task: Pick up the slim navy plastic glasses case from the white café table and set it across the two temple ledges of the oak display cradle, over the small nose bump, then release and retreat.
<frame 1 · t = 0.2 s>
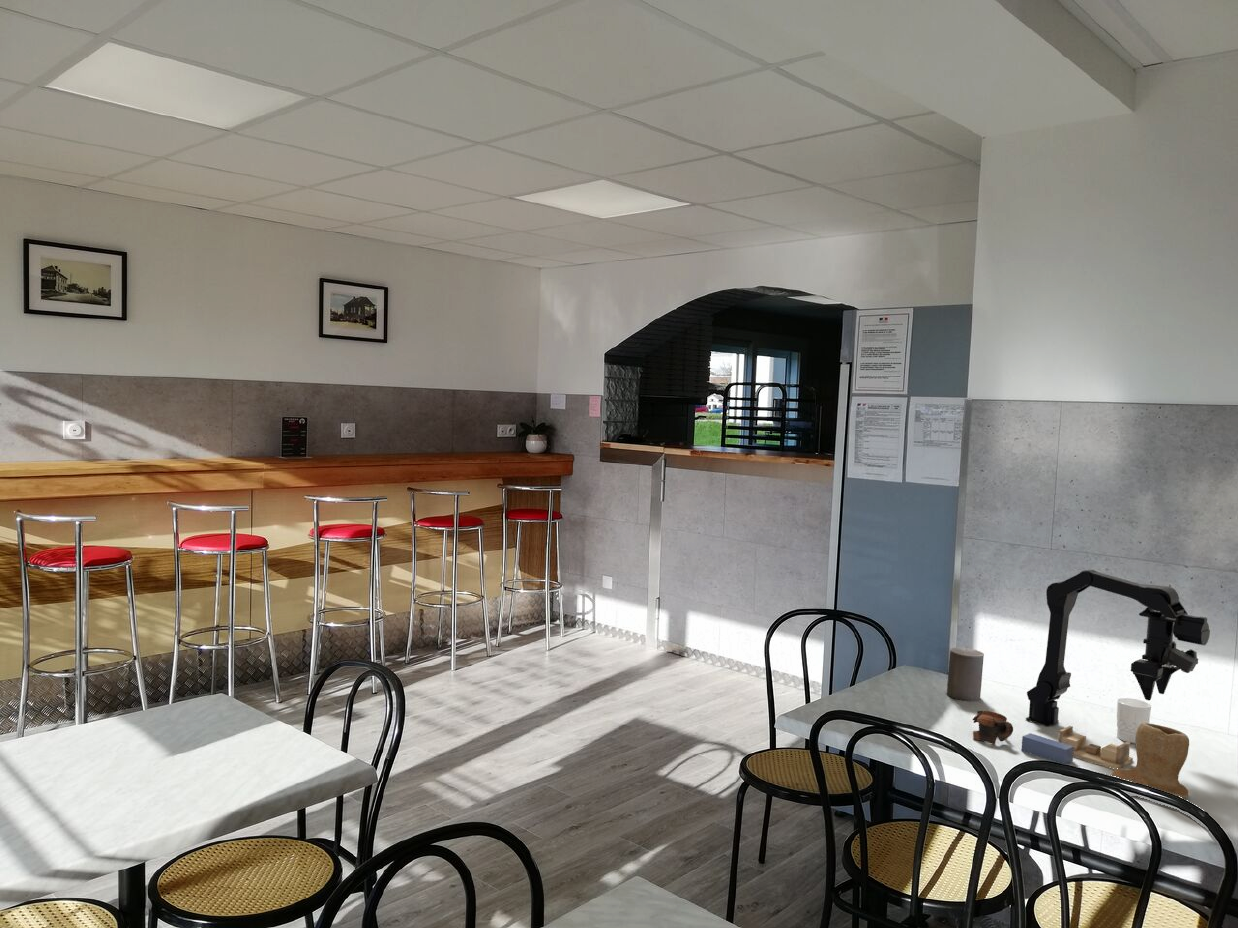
hand: (1154, 696, 235), 15 cm above the table, fingers open, 9 cm apart
pottery mug: (992, 740, 241), on the table
white cup: (1131, 740, 245), on the table
pillar candle: (963, 696, 278), on the table
glasses case: (1046, 756, 230), on the table
display cradle: (1092, 755, 232), on the table
stone cup: (1149, 790, 212), on the table
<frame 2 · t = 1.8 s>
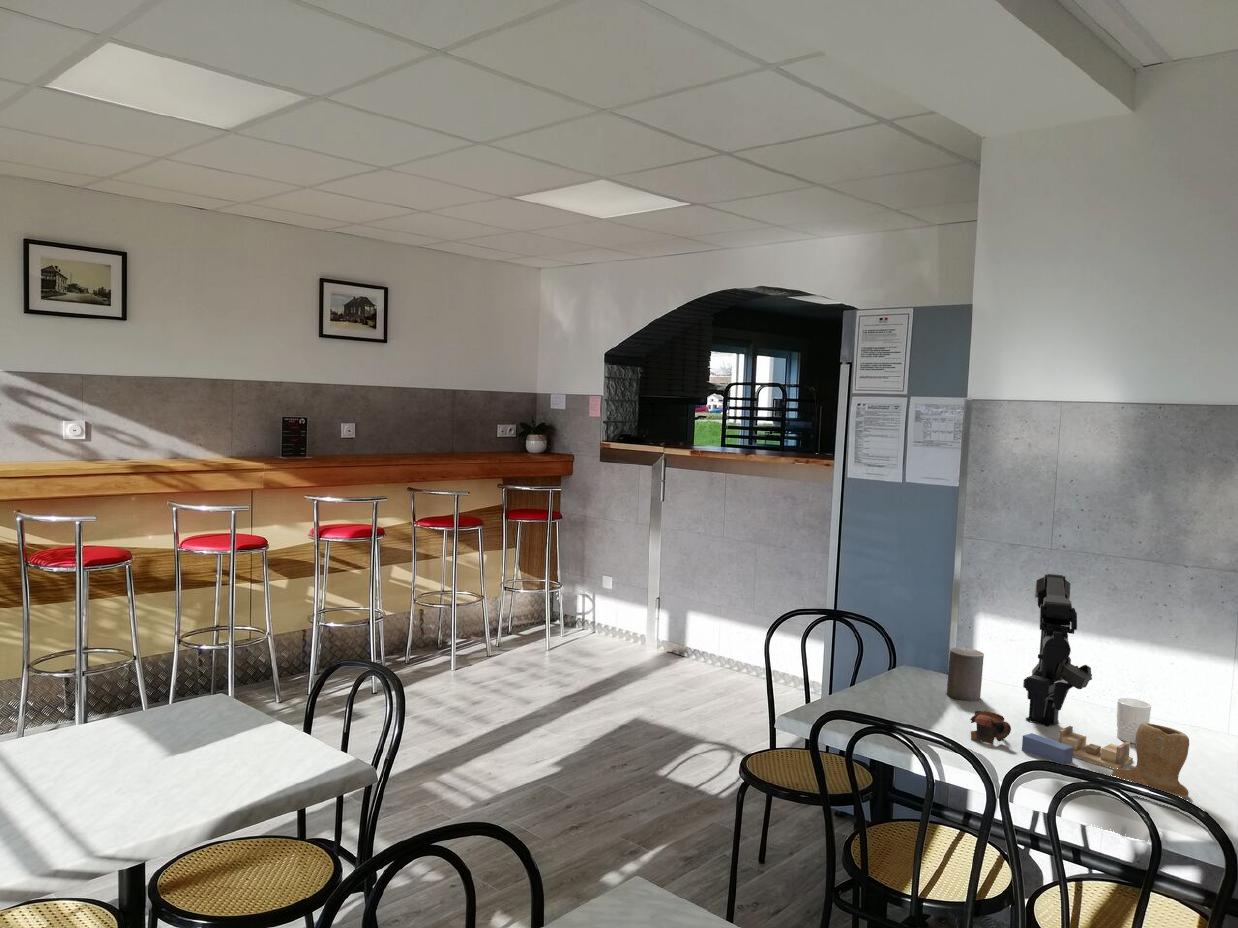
hand: (1049, 713, 230), 11 cm above the table, fingers open, 9 cm apart
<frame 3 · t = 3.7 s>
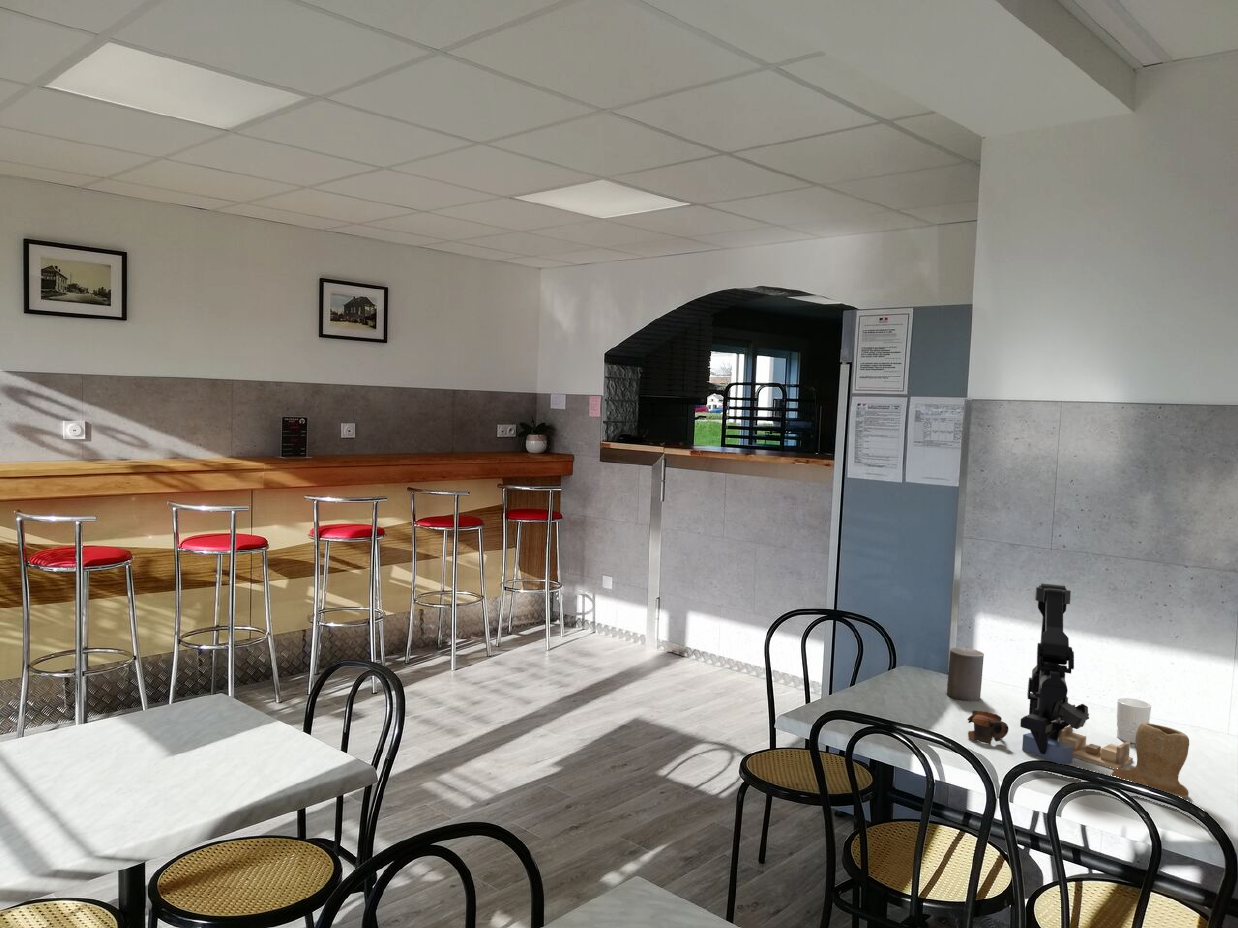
hand: (1047, 751, 230), 1 cm above the table, fingers closed on glasses case, 4 cm apart
glasses case: (1046, 755, 230), on the table, touching gripper
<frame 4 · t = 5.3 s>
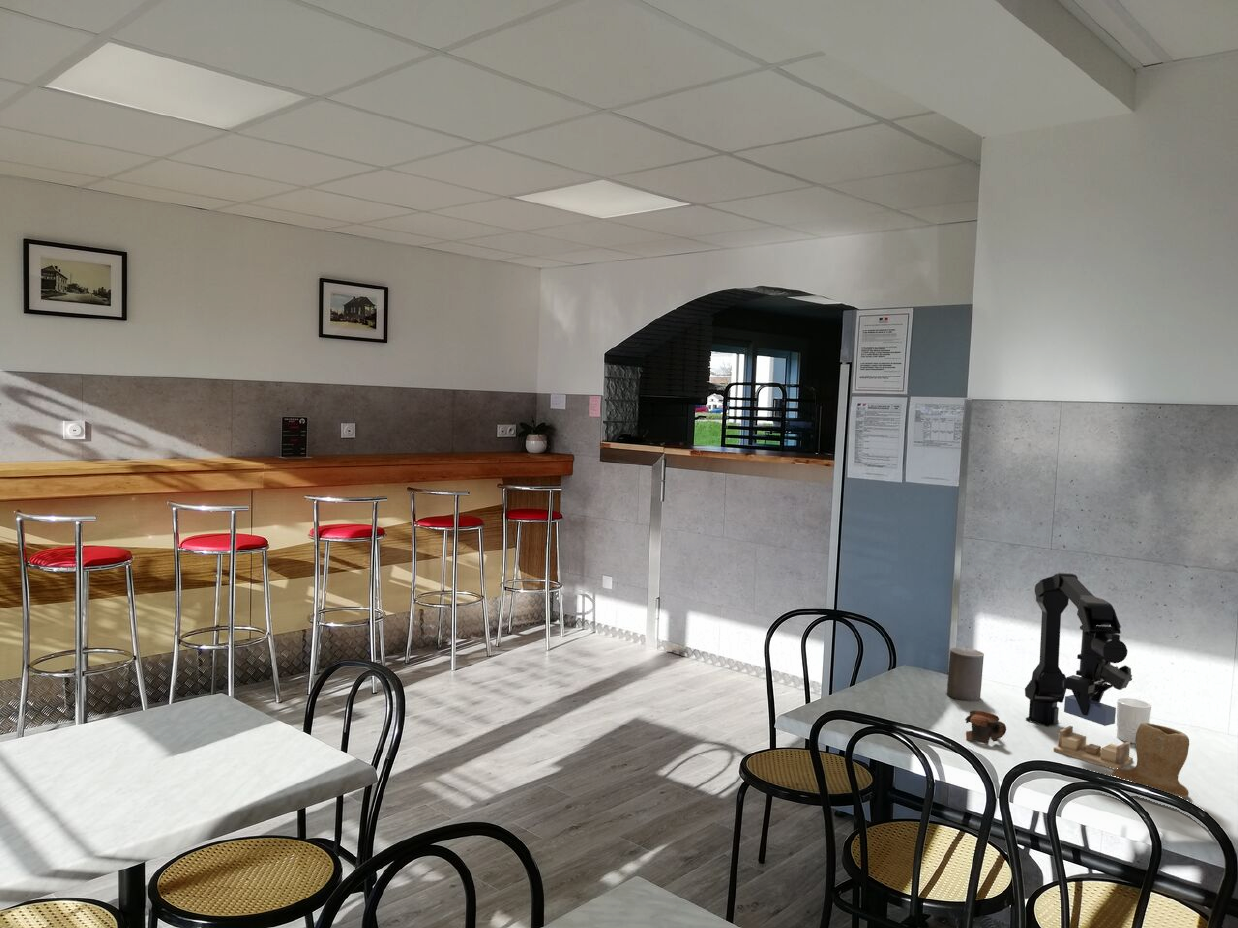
hand: (1089, 713, 231), 11 cm above the table, fingers closed on glasses case, 4 cm apart
glasses case: (1088, 717, 231), point 10 cm above the table, touching gripper
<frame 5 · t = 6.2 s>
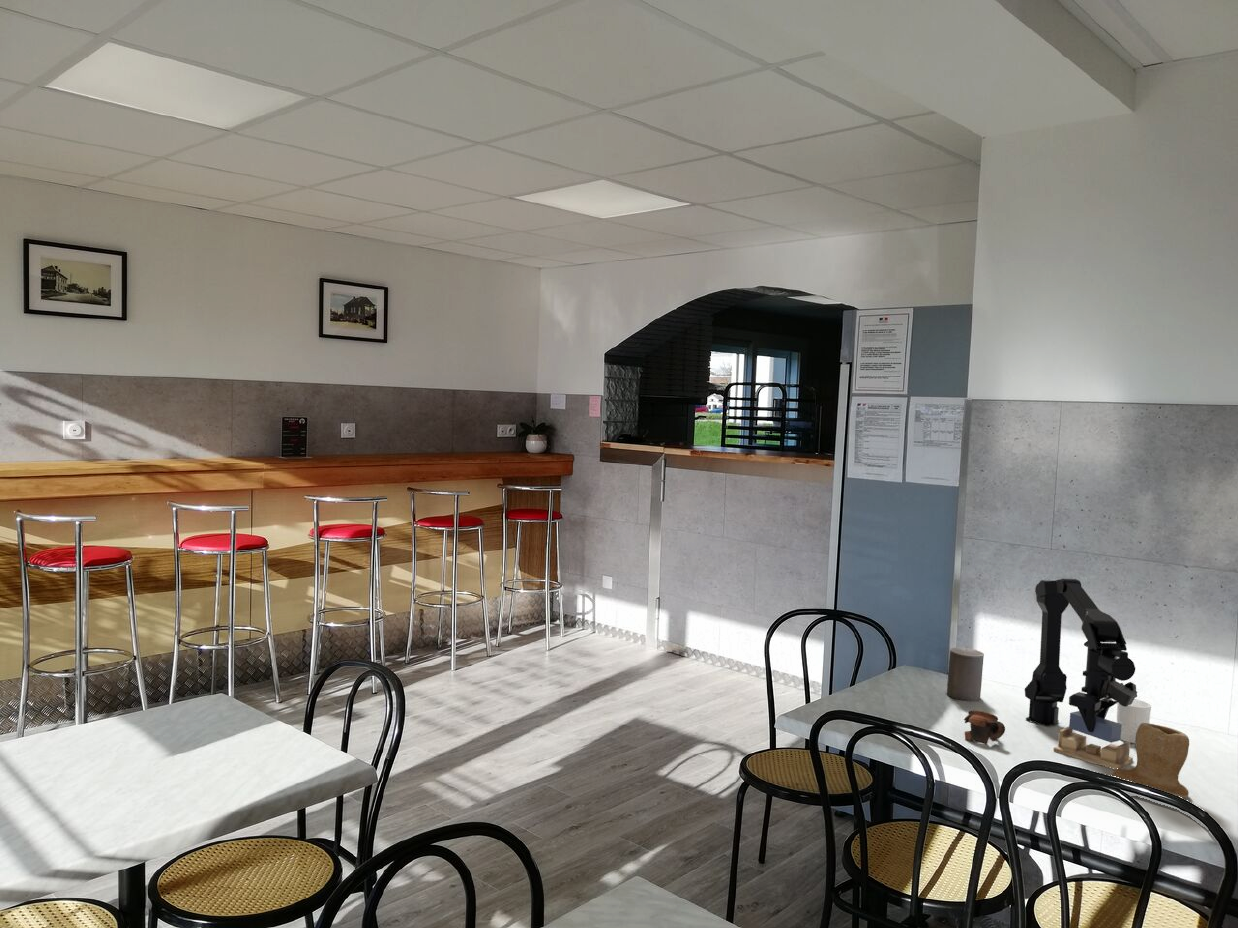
hand: (1094, 729, 231), 7 cm above the table, fingers closed on glasses case, 4 cm apart
glasses case: (1094, 734, 231), point 6 cm above the table, touching gripper
when the fingers open (6 cm above the table, at t = 7.0 s): glasses case drops 1 cm, resting on display cradle.
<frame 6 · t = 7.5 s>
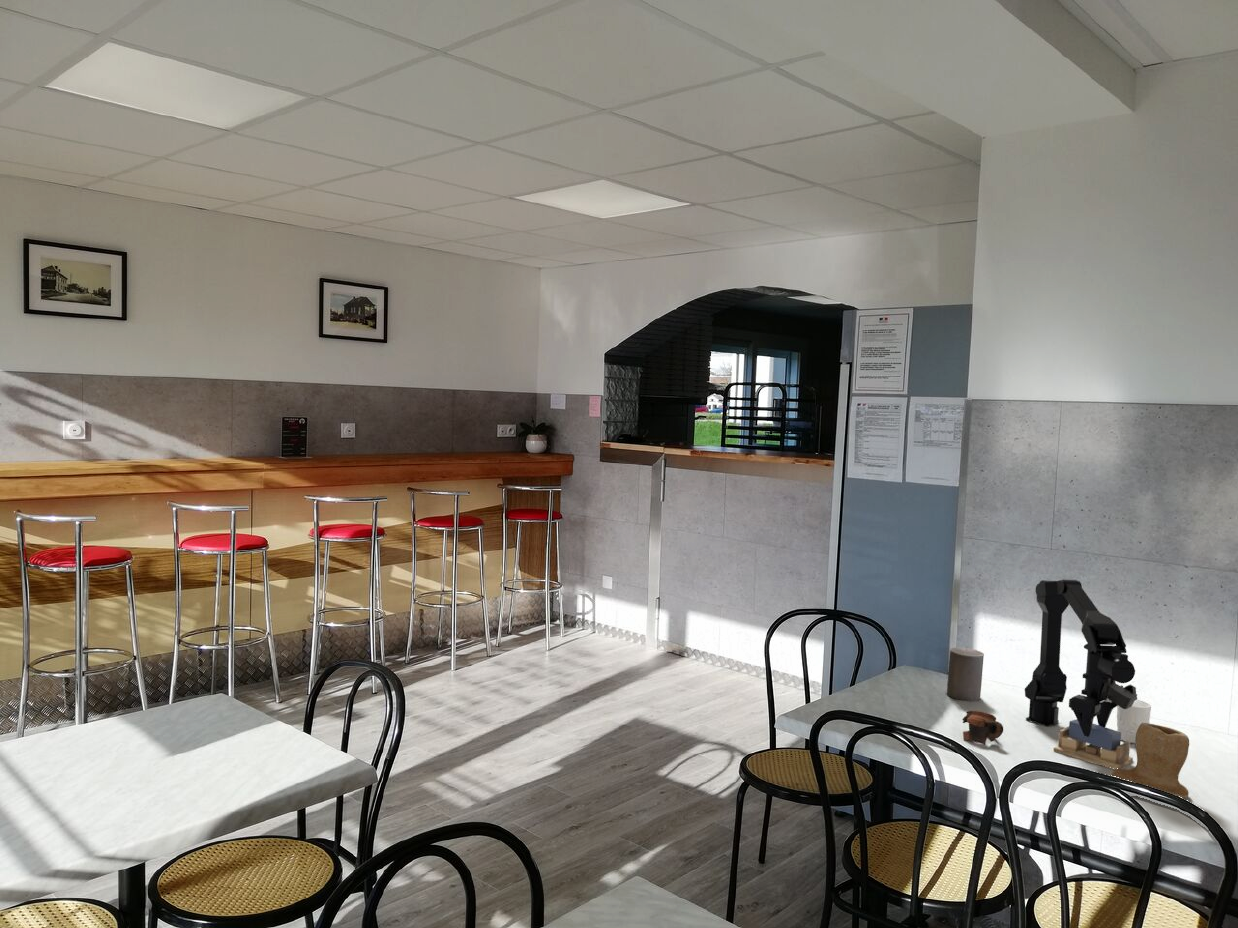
hand: (1094, 732, 231), 6 cm above the table, fingers open, 9 cm apart
glasses case: (1093, 742, 231), point 3 cm above the table, touching display cradle
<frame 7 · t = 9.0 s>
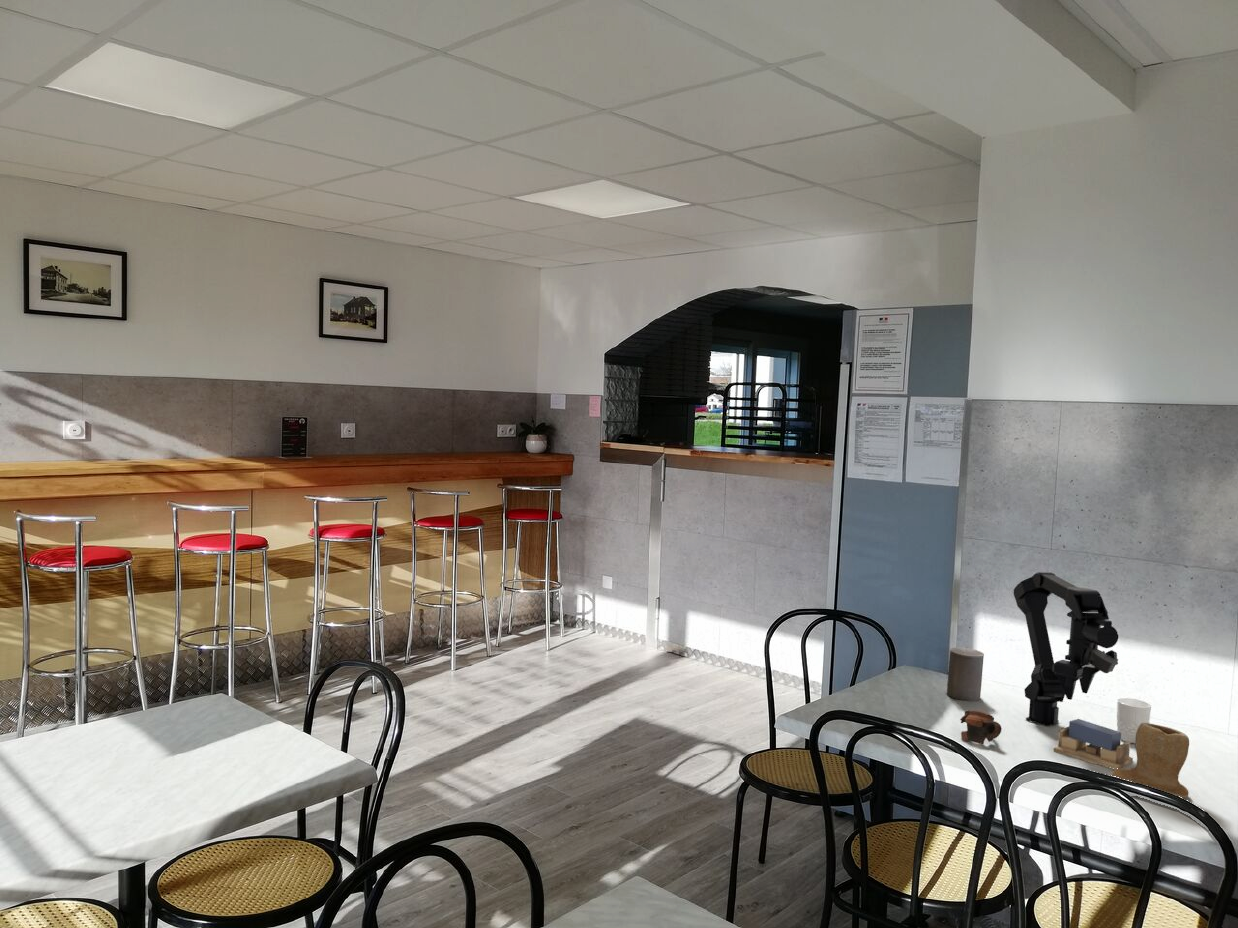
hand: (1077, 695, 242), 12 cm above the table, fingers open, 9 cm apart
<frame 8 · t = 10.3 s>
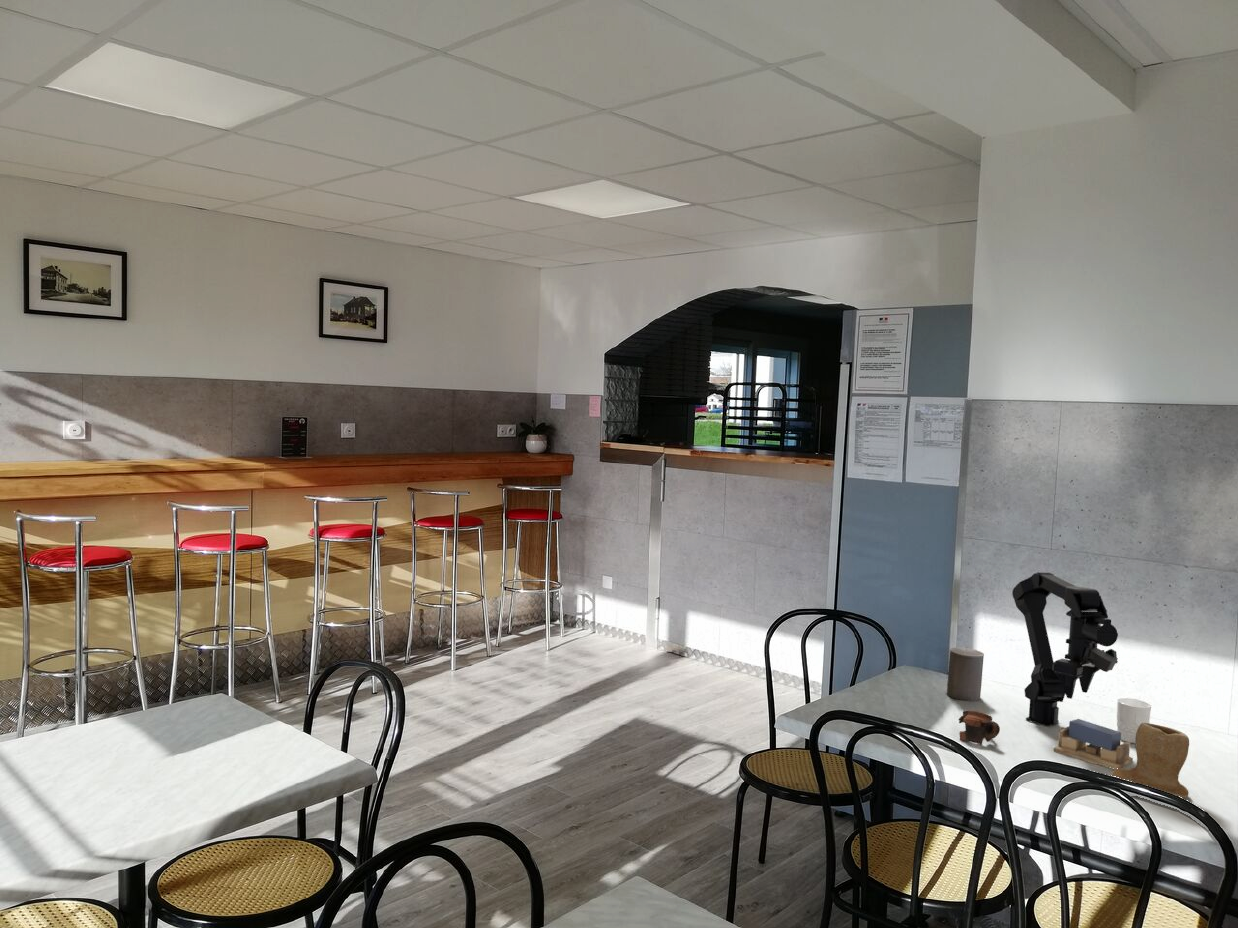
hand: (1077, 695, 242), 12 cm above the table, fingers open, 9 cm apart
at the end: glasses case 0.0 cm off-centre on the display cradle, point 3.5 cm above the display cradle's base; glasses case tilted 0°; the gripper is holding nothing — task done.
